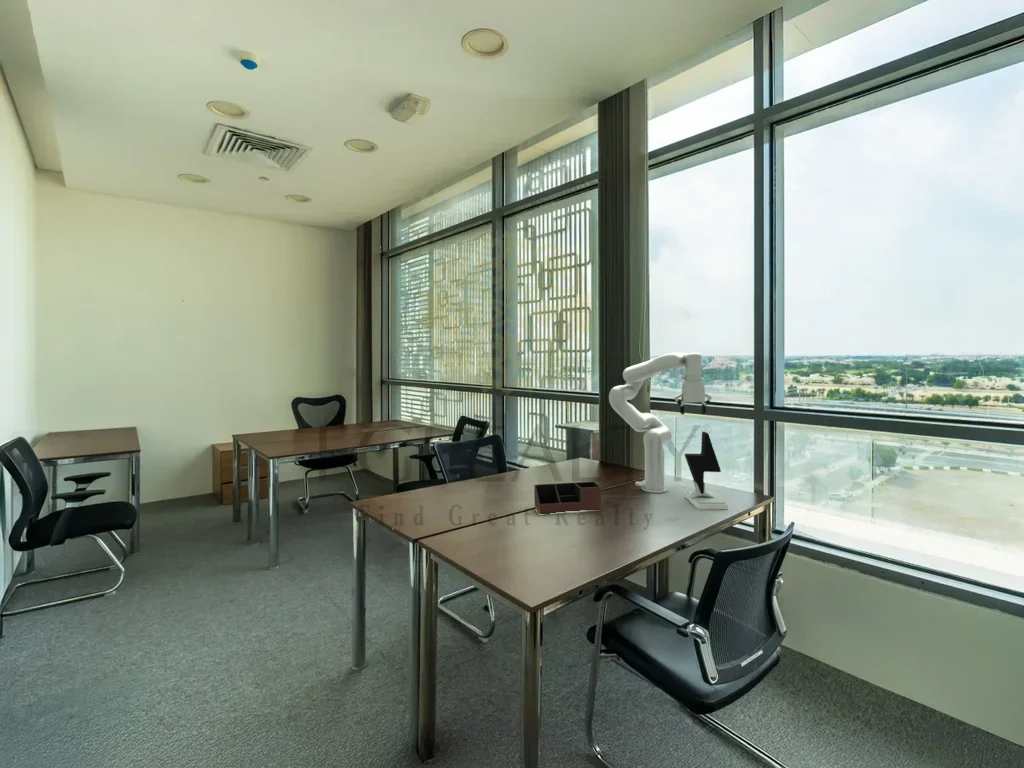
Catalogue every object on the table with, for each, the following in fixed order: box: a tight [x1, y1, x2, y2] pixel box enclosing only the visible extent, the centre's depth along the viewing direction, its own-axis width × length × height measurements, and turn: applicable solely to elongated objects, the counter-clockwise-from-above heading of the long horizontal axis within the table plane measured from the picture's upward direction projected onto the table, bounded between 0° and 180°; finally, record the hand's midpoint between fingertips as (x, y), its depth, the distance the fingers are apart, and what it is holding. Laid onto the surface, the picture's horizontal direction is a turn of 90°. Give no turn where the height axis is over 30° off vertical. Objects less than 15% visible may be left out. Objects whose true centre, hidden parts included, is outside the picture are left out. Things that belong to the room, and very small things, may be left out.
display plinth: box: [684, 490, 729, 511], centre depth 226 cm, size 13×19×3 cm
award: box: [684, 431, 722, 498], centre depth 226 cm, size 15×5×30 cm, turn 87°
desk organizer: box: [533, 481, 602, 514], centre depth 219 cm, size 10×29×11 cm, turn 100°
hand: (692, 414), depth 234 cm, fingers open, 9 cm apart
